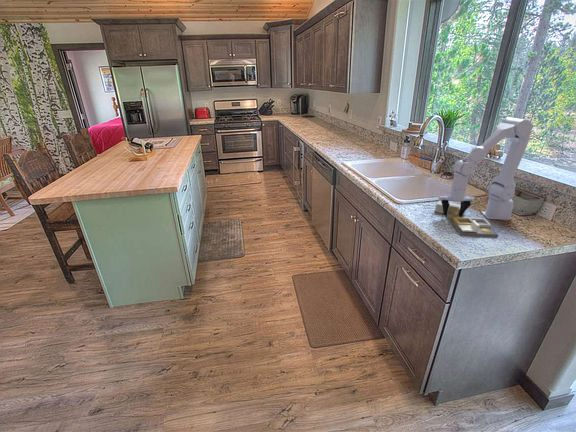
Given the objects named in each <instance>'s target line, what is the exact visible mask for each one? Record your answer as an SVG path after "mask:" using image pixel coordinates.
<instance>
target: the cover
mask: <svg viewBox="0 0 576 432" xmlns="http://www.w3.org/2000/svg"><path fill="white" fill-rule="evenodd" d="M479 226H480V225H479V224H478V223H477V222H476V221H475V220H472V223H471V225H458V227H459V228H460V229H461V230H462V231H465V232H478V230H479Z"/></svg>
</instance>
